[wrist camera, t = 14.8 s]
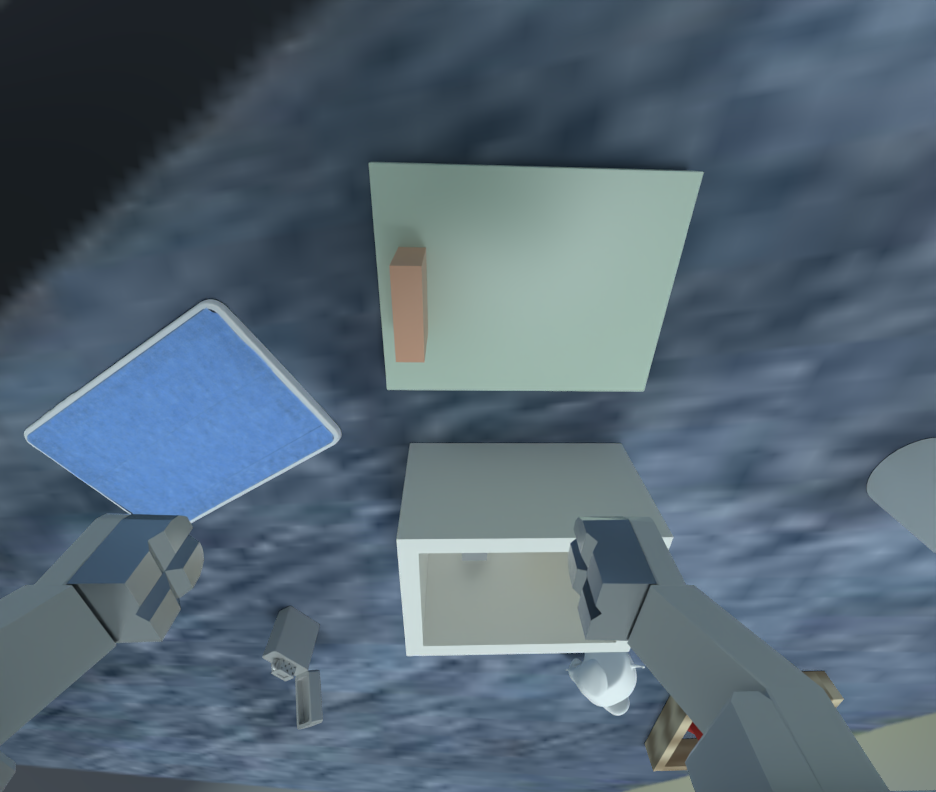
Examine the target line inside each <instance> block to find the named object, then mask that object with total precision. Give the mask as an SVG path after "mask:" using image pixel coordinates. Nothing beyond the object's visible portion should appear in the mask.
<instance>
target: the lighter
mask: <svg viewBox="0 0 936 792" xmlns="http://www.w3.org/2000/svg"><path fill="white" fill-rule="evenodd" d="M319 627H320V624H318V623H317V622H315V621H313V620H312V619H310V618H309V617H307V616H306V615H304V614H303V613H301V612H300V611H298V610H297V609H295V608H294V607H292V606H289V607H287V608H285V609H283V610H281V611H279V613H278V616H277V619H276V621H275V624H274V627H273V629H272V632H271V635H270V638H269V640H268V643H267V646H266V649H265V651H264V654H263V658H264V659H265V660H267V661H269V662H271V663H272V664H271V667H272V672H271V674H273V675H275V676H277V677H279V678H280V679H282V680H284V681H288V680H290V679H292V678H294V676H296V678H295V682H296V709H297V728H298V729H303V728H307V727H311V726H313V725H316V724H318V723H321V722H322V720H323V713H322V698H321V683H320V671H319V670H310V671H308V667H309V664H310V660H311V656H312V653H313V649H314V645H315V642H316V638H317V634H318V631H319Z"/></svg>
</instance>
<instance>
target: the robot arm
mask: <svg viewBox="0 0 936 792" xmlns="http://www.w3.org/2000/svg"><path fill="white" fill-rule="evenodd" d="M192 528H193V527H192V525H191V523H190V521H189V519H188V517H187V516H180V515H150V514H105V515H103V516H101V517H99V518H97V519H96V520H95V521H94V522H93V523H92V524H91V525H90V526H89V527H88V528H87V529H86V530H85V531H84V533H83V534H82V535H81V536H80V537H79V538H78V539H77V540H76V541H75V542H74V543H73V544H72V545H71V546H70V547H69V548H68V550H67V551H66V552H65V553H64V554H63V555H62V556H61V557H60V558H59V559H58V560H57V561H56V562H55V563H54V564H53V565H52V567H51V568H50V569H49V570H48V571H47V572H46V573H45V574H44V575H43V576H42V577H41V578H40V579H39V580H38V581H37V582H36V584H35V585H25V586H23V587H21V588H20V589H18V590H16V591H14V592H13V593H11V594H9V595H7V596H6V597H4V598H2V599H0V746H1V745H2V744H3V743H4V742H5V741H6V740H7V739H9V738H10V737H11V736H12V735H13V734H14V733H16V732H17V731H18V730H19V729H20V728H21V727H23V726H24V725H25V724H26V723H27V722H28V721H30V720H31V719H32V718H33V717H34V716H35V715H36V714H38V713H39V712H40V711H41V710H42V709H43V708H45V707H46V706H47V705H48V704H49V703H50V702H52V701H53V700H54V699H55V698H56V697H57V696H59V695H60V694H61V693H62V692H63V691H64V690H65V689H67V688H68V687H69V686H70V685H71V684H72V683H74V682H75V681H76V680H77V679H78V678H79V677H81V676H82V675H83V674H84V673H85V672H86V671H88V670H89V669H90V668H91V667H92V666H93V665H94V664H96V663H97V662H98V661H99V660H100V659H101V658H103V657H104V656H105V655H106V654H107V653H108V652H110V651H111V650H112V649H113V648H114V647H115V646H116V643H129V642H160V641H162V640H163V639H164V637H165V635H166V633H167V632H168V630H169V628H170V627H171V625H172V623H173V622H174V620H175V618H176V616H177V615H178V613H179V611H180V610H181V606H180V600H179V598H180V597H182V596H183V595H184V594H186V593H187V592H188V591H190V590H191V589H192V588H193V587H194V585H195V583H196V582H197V580H198V578H199V576H200V574H201V570H202V566H203V561H204V558H203V549H202V547H201V544H200V542H199V541H197V540H196V539H194V538H193V537H191V536H190V535H189V533H190V531H191V530H192ZM574 533H575V536H576V539H575V540H573V541H572V542H571V543H570V547H569V553H568V568H569V575H570V580H571V584H572V588H573V589H574V590H575V591H576V592H577V593H578V594H579V595H580V600H579V604H578V607H577V609H578V613H579V617H580V620H581V624H582V628H583V632H584V636H585V640H612V641H628V642H627V644H628V645H629V646H630V647H631V648H632V650H633V651H634V652H635V653H636V654H637V655H638V657H639V658H640V659H641V660H642V661H643V663H644V664H645V665H646V666H647V667H648V669H649V670H650V671H651V672H652V673H653V675H654V676H655V677H656V678H657V679H658V681H659V682H660V683H661V684H662V685H663V687H664V688H665V689H666V690H667V691H668V693H669V694H670V695H671V696H672V697H673V699H674V700H675V701H676V702H677V703H678V705H679V706H680V707H681V708H682V709H683V711H684V712H685V713H686V714H687V715H688V717H689V718H690V719H691V720H692V721H693V723H694V724H695V725H696V726H697V727H698V729H699V730H700V731H701V732H702V733H703V736H702V737H701V738H700V740H699V741H698V743H697V744H696V745H695V747H694V748H693V750H692V751H691V752H690V754H689V756H688V758H687V759H686V761H685V764H686V767H687V770H688V773H689V776H690V779H691V781H692V784H693V787H694V790H695V792H936V790H933V791H931V790H930V791H890V790H889V789H888V787H887V786H886V784H885V783H884V781H883V780H882V778H881V777H880V775H879V774H878V772H877V771H876V769H875V767H874V766H873V764H872V763H871V761H870V760H869V758H868V757H867V755H866V754H865V752H864V751H863V749H862V747H861V746H860V744H859V743H858V741H857V740H856V738H855V737H854V735H853V734H852V732H851V731H850V729H849V728H848V726H847V724H846V723H845V721H844V720H843V718H842V717H841V715H840V714H839V712H838V711H837V709H836V708H835V706H834V704H833V703H832V701H831V700H830V698H829V697H828V695H827V694H826V692H825V691H824V689H823V688H822V687H820V686H819V685H818V684H817V683H815V682H814V681H813V680H812V679H810V678H809V677H808V676H807V675H805V674H804V673H803V672H802V671H800V670H799V669H798V668H797V667H795V666H794V665H793V664H792V663H790V662H789V661H788V660H787V659H785V658H784V657H783V656H782V655H780V654H779V653H778V652H777V651H775V650H774V649H773V648H772V647H770V646H769V645H768V644H767V643H765V642H764V641H763V640H762V639H760V638H759V637H758V636H757V635H755V634H754V633H753V632H752V631H750V630H749V629H748V628H747V627H745V626H744V625H743V624H742V623H740V622H739V621H738V620H737V619H735V618H734V617H733V616H732V615H730V614H729V613H728V612H727V611H725V610H724V609H723V608H722V607H720V606H719V605H718V604H717V603H715V602H714V601H713V600H712V599H710V598H709V597H708V596H707V595H705V594H704V593H703V592H702V591H700V590H699V589H698V588H697V587H695V586H694V585H686V583H685V582H684V580H683V578H682V576H681V574H680V572H679V570H678V568H677V566H676V564H675V562H674V560H673V558H672V556H671V554H670V552H669V550H668V548H667V546H666V544H665V542H664V540H663V538H662V536H661V534H660V532H659V530H658V528H657V527H656V525H655V523H654V521H653V520H652V519H651V518H650V517H623V516H599V517H578V518H577V519H576V521H575V525H574ZM15 767H16V766H15V762H14V761H13V760H11V759H10V758H9V757H7V756H6V755H5V754H3V753H2V752H1V751H0V792H2V791H3V790H4V788H5V787H6V785H7V784H8V782H9V781H10V779H11V778H12V776H13V775H14V773H15V772H16V768H15Z"/></svg>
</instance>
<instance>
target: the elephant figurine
mask: <svg viewBox="0 0 936 792" xmlns="http://www.w3.org/2000/svg"><path fill="white" fill-rule="evenodd" d="M578 665H580V666H578ZM577 666H578V667H577ZM636 667H642V668H645V667H644V666H639V665H635V664H634V663H633V661H632V659H631V657H630V655H629V654H628V652H592V653H585V655H584V661H583V663H582V661H581V660H580V659H578V658H575V659H573V660H572V662H571V664H570V666H569V669H566V670H568V671H569V676H570V677H571V679H572V680H573V681H574V682H575V683H576V685H577V686H578V688H579V689H580V691H581V692H582V694H583V695H584V696H586V697H587V698H588V699H589V700H590V701H591V702H592V703H594V704H595V705H597V706H602V707H604V708H605V709H606V710H607V711H609V712H610V713H611V714H613V715H616V716H618V715H622V714H624V713H625V712H626V711H627V710H628V708H629V698H628V696H629V695H630V694H631V693H632V691H633V689H634V687H635V684H636V679H637V675H636V669H635V668H636Z"/></svg>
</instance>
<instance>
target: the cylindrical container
mask: <svg viewBox="0 0 936 792" xmlns="http://www.w3.org/2000/svg"><path fill="white" fill-rule="evenodd" d="M867 493H868V495H869V497H870V498H871V499H872V500H873V501H875V502H876V503H877V504H878V505H879V506H880V507H882V508H883V509H884V510H885V511H886V512H887V513H889V514H890V515H891V516H892V517H893V518H894V519H896V520H897V521H898V522H899V523H900V524H901V525H903V526H904V527H905V528H906V529H907V530H908V531H910V532H911V533H912V534H913V535H914V536H916V537H917V538H918V539H919V540H920V541H921V542H923V543H924V544H925V545H926V546H927V547H928V548H930V549H931V550H932V551H933V552H934V553H935V554H936V438H929V439H924V440H920V441H917V442H914V443H911V444H909V445H907V446H905V447H903V448H901V449H899V450H897V451H895V452H894V453H892V454H891V455H889V456H888V457H887V458H886V459H884V460H883V461H882V462H881V463H880V464H879V465H878V466H877V467H876V468H875V469H874V471H873V472H872V474H871V475H870V477H869V479H868V483H867Z"/></svg>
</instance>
